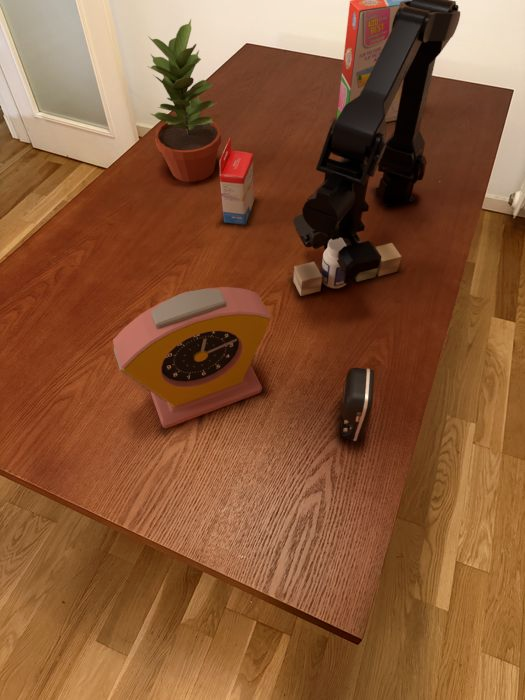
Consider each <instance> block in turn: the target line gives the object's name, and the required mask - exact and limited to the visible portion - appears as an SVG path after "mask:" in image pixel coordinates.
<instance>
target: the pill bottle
mask: <svg viewBox="0 0 525 700" xmlns="http://www.w3.org/2000/svg"><path fill="white" fill-rule="evenodd" d="M344 246H347V245H346V244H345V242H344V240H343V239H342V238H339V239H335V240H332V239H330V240H329V242H328V247H327V249H326V250H325V249H324V251H323V254H322V261H321V271H320V273H321V275H322V282H321V283H322V284H323V285H324V286H326V287H328V288H331V289H340V288H343V287H344V286H346V285H347V283H346V284H344V282H343V270H342V269H341V267H340V265H339V264H338V262H337V260H338V252H339V251H340V250H341V249H342V248H343V247H344Z"/></svg>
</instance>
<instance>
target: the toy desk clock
mask: <svg viewBox="0 0 525 700" xmlns="http://www.w3.org/2000/svg"><path fill="white" fill-rule="evenodd" d="M271 320H272V316H271V314H270V313H269V311H268V309H267V307H266V306H265V304H264V302H263V301H262V298H261V297H260V295H259V293H258V292H257V291H253V290H249V289H246V288H242V287H241V288H240V287H234V286H233V287H232V286H219V287H217V286H216V287H206V288H202V289H195V290H189V291H185V292H182V293H180V294H177V295H174V296H173V297H170V298H168V299H166V300H163V301H161V302H159V303H157V304H155V305H154V306H152V307H150V308H149V309H147V310H145V311H143V312H142V313H140V314H139V315H138V316H137V317H135V319H134V318H133V320H132V321H130V322H129V323H128V324H127V325H126V326H125V327H123V328H122V329H121V331H120V332H119V333H118V334H117V335H116V336H115V337H114V338H113V339H112V344H113V353H114V356H115V358H116V359H115V360H116V362H117V366H118V368H119V371H121V372H122V373H123V374H125V375H126V376H128V378H131V379H132V380H133V381H135V382H136V383H138V384H139V385H141V386H143V388H145V389H146V390H147V391H149V393H150V395H151V398H152V401H153V404H154V406H155V409H156V412H157V415H158V417H159V421H160V424H161V427H162V428H164V429H169V428H171V427H173V426H176V425H179V424H181V423H185V422H187V421H189V420H192V419H194V418H197V417H200V416H203V415H205V414H208V413H211V412H214V411H216V410H218V409H221V408H223V407H226V406H229V405H231V404H234V403H237V402H239V401H242V400H245V399H247V398H250V397H253V396H255V395H258V394H260V393H261V392H262V391H263V386H262V384H261V382H260V381H259V378H258V376H257V374H256V373H255V370H254V368H253V367H252V364H251V363H252V361H253V359H254V356H255V354H256V352H257V350H258V348H259V346H260V343H261V341H262V340H263V337H264V334H265V332H266V331H267V328H268V327H269V324H270V322H271Z"/></svg>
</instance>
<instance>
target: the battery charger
mask: <svg viewBox="0 0 525 700" xmlns="http://www.w3.org/2000/svg"><path fill="white" fill-rule="evenodd" d="M374 387H375V371H374V370H373V369H370V368H362V367H352V368H350V369H348V371H347V373H346V375H345V379H344V382H343V388H342V396H341V397H342V399H341V406H340V414H341V423H340V424H341V425H340V435H341V437H342V438H344V439H346V440H349V441H353V442H360V441H361V440H362V438H363V434H364V432H365V428H366V426H367V423H368V420H369V418H370V414H371V411H372V407H373V402H374V401H373V400H374Z"/></svg>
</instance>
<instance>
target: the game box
mask: <svg viewBox="0 0 525 700" xmlns="http://www.w3.org/2000/svg"><path fill="white" fill-rule="evenodd" d="M403 1H407V0H349V5H348V15H347V23H346V31H345V32H346V33H345V41H344V49H343V50H344V51H343V60H342V70H341V78H340V88H339V97H338V105H337V115H336V119H337V118H338V116H339V115H340V113H341V111H342V110H343V108H344V106H345V105H346V104H347V103H349V102H350V101H352V100H353V99H355V98H356V97H358V96H359V95H360V93H361V91H362V90H363V88H364V86H365V84H366V82H367V80H368V78H369V76H370V74H371V72H372V69H373V67H374V65H375V63H376V61H377V59H378V57H379V55H380V53H381V51H382V49H383V47H384V45H385V43H386V41H387V39H388V37H389V35H390V33H391V31H392V24H393V20H394V17H395V15H396V12H397V10H398V9H399V6H400V2H403ZM409 1H412V0H409ZM403 80H404V79H403ZM402 85H403V82H402V84H401V86H400V88H399V90H398V92H397V94H396V96H395V98H394V100H393V102H392V104H391V106H390V108H389V110H388V112H387V115H386V117H385V120H386V123H390V122H396V119H397V114H398V108H399V102H400V97H401V91H402Z"/></svg>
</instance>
